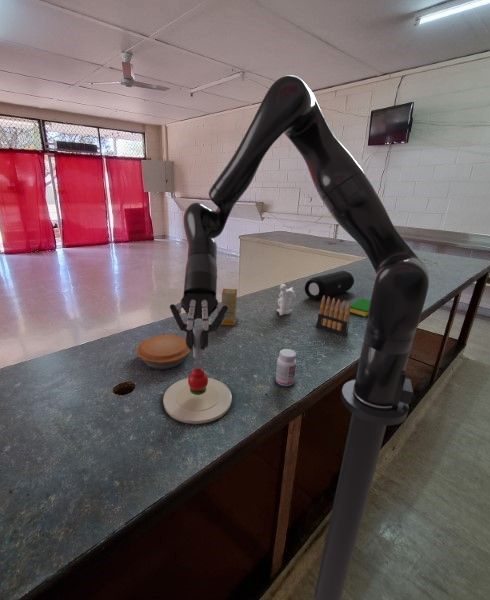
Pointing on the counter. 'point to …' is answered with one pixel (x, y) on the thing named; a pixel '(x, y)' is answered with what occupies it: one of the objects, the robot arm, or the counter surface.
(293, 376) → the pill bottle
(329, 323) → the ammunition clip
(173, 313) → the robot arm
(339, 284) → the portable speaker
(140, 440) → the counter surface
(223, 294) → the shoe polish box
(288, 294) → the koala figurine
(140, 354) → the pie
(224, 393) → the plate
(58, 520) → the counter surface
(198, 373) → the forked strawberry
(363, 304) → the dish sponge
